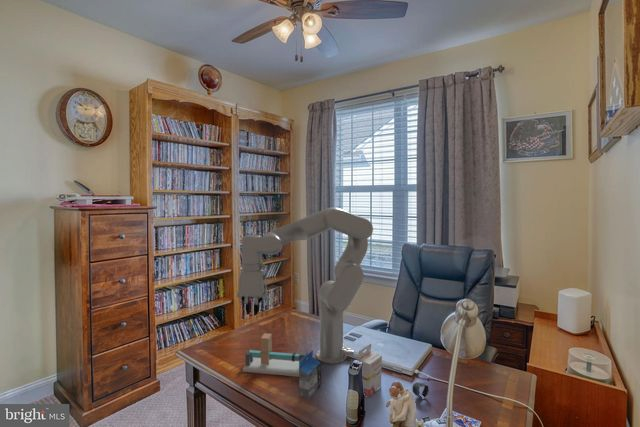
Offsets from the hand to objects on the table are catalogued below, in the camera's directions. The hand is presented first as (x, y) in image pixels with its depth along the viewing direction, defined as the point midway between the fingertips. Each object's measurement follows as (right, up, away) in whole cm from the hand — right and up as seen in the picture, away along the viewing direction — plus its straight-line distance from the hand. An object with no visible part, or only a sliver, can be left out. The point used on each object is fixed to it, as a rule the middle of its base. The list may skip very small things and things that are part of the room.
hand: (252, 313), depth 128 cm
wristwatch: (+60, -23, -19) cm, 67 cm away
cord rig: (+9, -21, 0) cm, 23 cm away
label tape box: (+23, -22, -15) cm, 36 cm away
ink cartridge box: (+44, -22, -15) cm, 51 cm away
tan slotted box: (+5, -19, 0) cm, 20 cm away
